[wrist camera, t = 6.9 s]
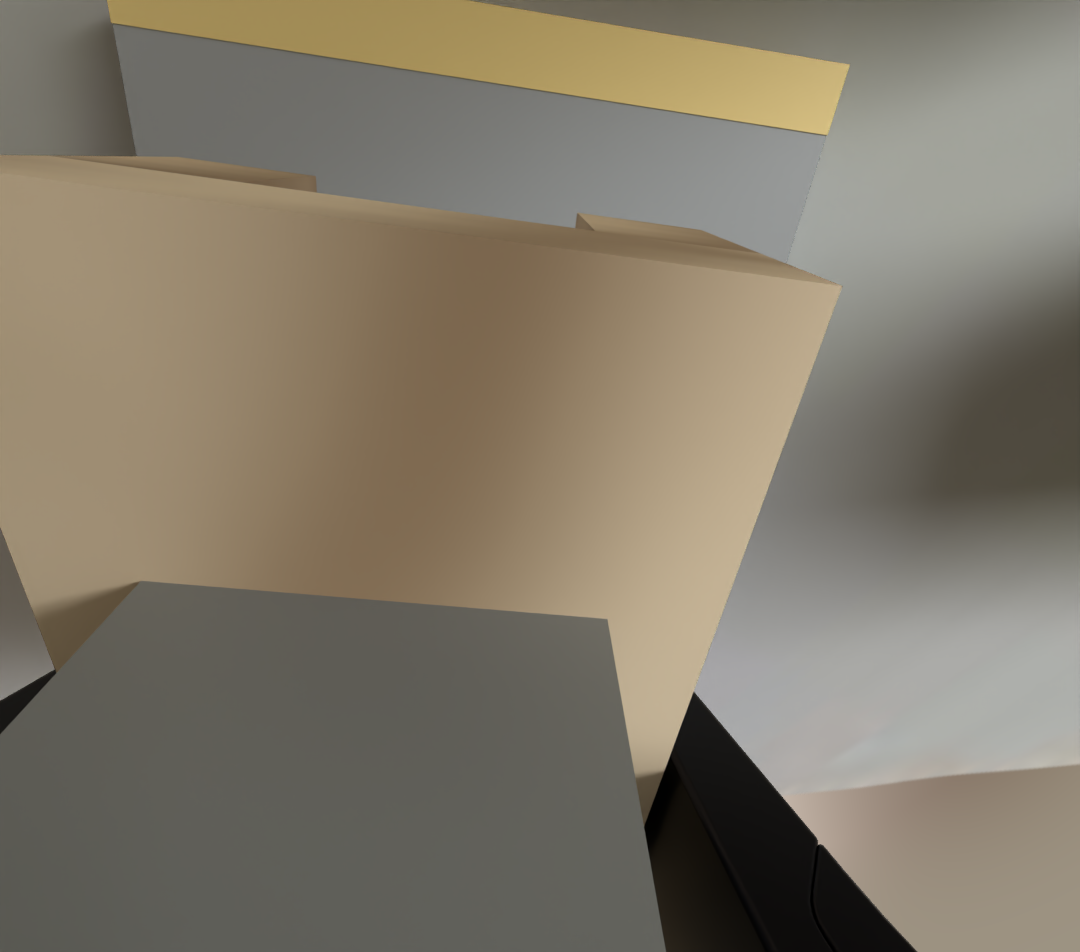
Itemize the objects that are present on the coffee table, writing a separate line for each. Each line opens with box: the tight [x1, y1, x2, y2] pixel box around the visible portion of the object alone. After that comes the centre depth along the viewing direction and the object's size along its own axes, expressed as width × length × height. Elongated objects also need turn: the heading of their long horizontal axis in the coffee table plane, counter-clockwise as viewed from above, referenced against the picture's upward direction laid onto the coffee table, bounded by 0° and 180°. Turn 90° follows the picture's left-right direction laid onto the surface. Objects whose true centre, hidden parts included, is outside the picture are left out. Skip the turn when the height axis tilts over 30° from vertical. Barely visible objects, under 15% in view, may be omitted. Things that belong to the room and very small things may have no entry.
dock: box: [107, 0, 850, 263], centre depth 16 cm, size 14×18×2 cm
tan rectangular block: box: [0, 155, 842, 825], centre depth 8 cm, size 6×12×4 cm, turn 173°
